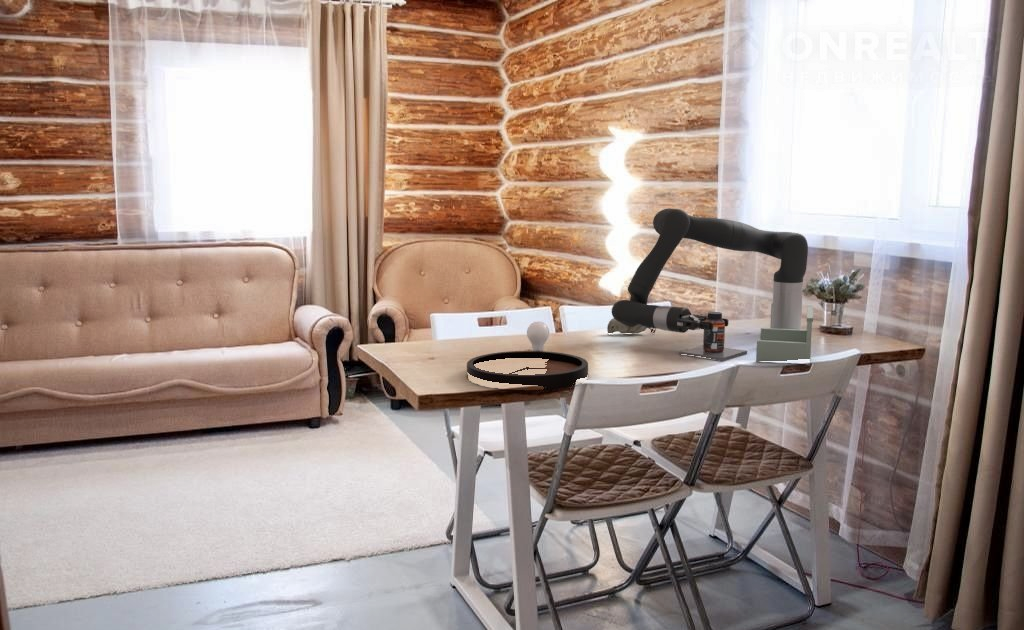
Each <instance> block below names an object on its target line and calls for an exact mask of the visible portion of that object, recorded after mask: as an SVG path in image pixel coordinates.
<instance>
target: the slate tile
mask: <svg viewBox="0 0 1024 630" xmlns="http://www.w3.org/2000/svg"><path fill="white" fill-rule="evenodd" d="M680 354H687V355H694V356H701V357H706V358H711V359H716V360H715V361H717V360H720V361H719V362H725V361H729V360H731V359H735V358H738V357H739V358H740V357H742V356H745V355H748V350H746V349H740V348H739V349H738V348H731V347H725V346H724V350H723V351H722V352H707V351H704V350H703V344H702V345H699V346H695V347H691V348H688V349H685V350H680V351H679V355H680Z"/></svg>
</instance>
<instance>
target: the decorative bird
mask: <svg viewBox="0 0 1024 630" xmlns="http://www.w3.org/2000/svg"><path fill="white" fill-rule="evenodd" d="M606 328H607V329H606V330H607V332H608V333H612V334H613V333H619V334H622V333H636V334H639V333H642V332H645V331H646V330H647V329H648V330H650V333H652V334H653V333H654V334H655V333H656V331H657V330H656V328H649V327H645V326H642V325H640V324H638V325H636V326H634V327H628V326H626V325H624V324H622V323H620V322H618V321H617V320H615V319H614V317H612V318H611V319H610V320H609V321H608V324H607V327H606ZM607 332H606V333H607ZM608 333H607V334H608Z"/></svg>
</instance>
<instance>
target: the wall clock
mask: <svg viewBox="0 0 1024 630" xmlns="http://www.w3.org/2000/svg"><path fill="white" fill-rule="evenodd" d="M505 358H542V359H549V360H548V361H547V362H545V363H547V364H545V365H547V366H546V367H545V368H529V367H526V368H523V369H520V370H517V371H515V372H518V371H522V370H525V369H527V370H528V369H547V371H546V373H545V374H535V375H518V374H512V373H515V372H512V373H509V374H503V373H495V372H489V371H485V370H481V369H479V368H476V367H475V366H474V364H476V363H479V362H484V361H489V360H496V359H505ZM467 372H468V373H469V374H470V375H472V376H474V377H477V378H480V379H483V380H487V381H492V382H499V383H509V384H522V385H538V386H543V387H544V389H543V390H542V391H553V390H560V389H567V388H571V387H575V386H574V385H575V382H576V380H577V379H580V378H585V377H587V375H588V376H589V362H588V361H587V360H586V359H585V358H583V357H580V356H578V355H575V354H570V353H564V352H556V351H548V350H547V351H545V350H543V351H533V350H511V351H502V352H501V351H500V352H499V351H498V352H493V353H485V354H482V355H477V356H475V357H472V358H471V359H469V360H468V361H467V362H466V373H467ZM573 383H574V384H573ZM572 385H573V386H572ZM545 387H546V388H545Z"/></svg>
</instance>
